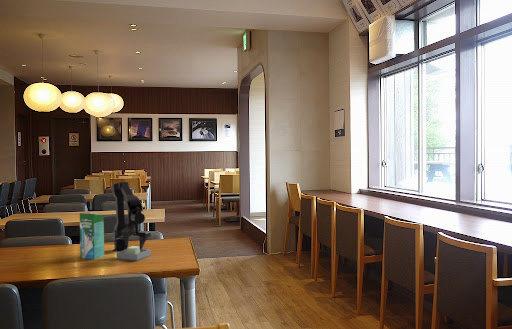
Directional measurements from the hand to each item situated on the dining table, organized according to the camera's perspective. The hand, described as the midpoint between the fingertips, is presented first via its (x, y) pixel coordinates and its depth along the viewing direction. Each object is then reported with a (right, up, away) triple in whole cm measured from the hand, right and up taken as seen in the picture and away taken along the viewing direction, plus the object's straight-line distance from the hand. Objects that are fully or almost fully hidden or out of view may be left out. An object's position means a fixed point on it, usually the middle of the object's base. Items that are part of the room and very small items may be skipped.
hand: (133, 249), depth 257 cm
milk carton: (-23, -5, +2) cm, 24 cm away
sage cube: (0, -4, 0) cm, 4 cm away
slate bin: (0, -5, 0) cm, 4 cm away
